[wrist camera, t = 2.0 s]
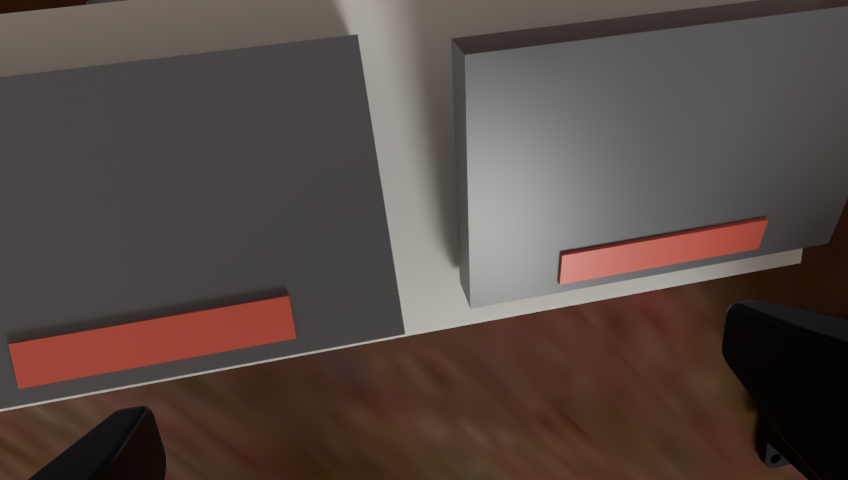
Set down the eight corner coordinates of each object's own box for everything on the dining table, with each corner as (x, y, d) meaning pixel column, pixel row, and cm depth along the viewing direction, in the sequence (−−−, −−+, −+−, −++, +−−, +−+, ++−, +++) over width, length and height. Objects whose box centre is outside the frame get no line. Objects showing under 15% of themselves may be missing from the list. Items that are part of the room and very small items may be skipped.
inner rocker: (889, -16, 14) (938, -4, 13) (799, 221, 18) (832, 245, 17) (451, 38, 13) (466, 56, 12) (459, 281, 17) (471, 311, 16)
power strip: (765, -66, 18) (872, -90, 15) (739, 233, 22) (820, 272, 18) (-95, 27, 15) (-218, 26, 12) (38, 357, 19) (-26, 431, 15)
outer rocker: (356, 47, 14) (357, 32, 13) (400, 322, 15) (405, 335, 14) (-133, 107, 13) (-187, 97, 12) (-60, 407, 14) (-103, 429, 12)
